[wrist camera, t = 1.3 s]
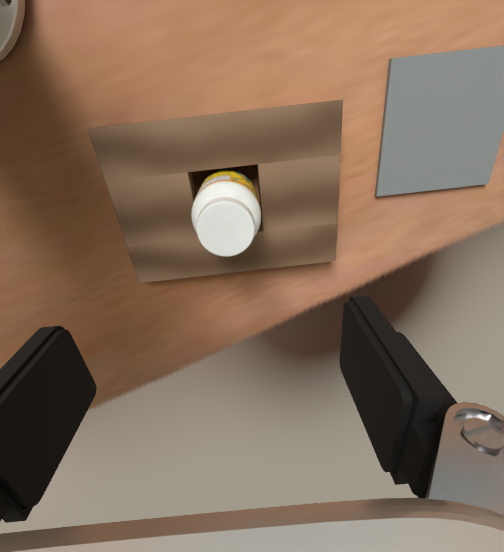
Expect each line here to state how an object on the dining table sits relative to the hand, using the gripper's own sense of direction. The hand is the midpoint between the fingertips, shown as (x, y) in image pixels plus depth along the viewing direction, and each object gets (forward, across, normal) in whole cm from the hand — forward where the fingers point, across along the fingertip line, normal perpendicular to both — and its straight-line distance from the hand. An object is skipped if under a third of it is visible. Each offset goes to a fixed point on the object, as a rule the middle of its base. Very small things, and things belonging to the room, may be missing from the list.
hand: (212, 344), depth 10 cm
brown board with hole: (+21, 0, 0) cm, 21 cm away
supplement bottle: (+21, 0, 0) cm, 21 cm away
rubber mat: (+21, -20, -5) cm, 29 cm away
